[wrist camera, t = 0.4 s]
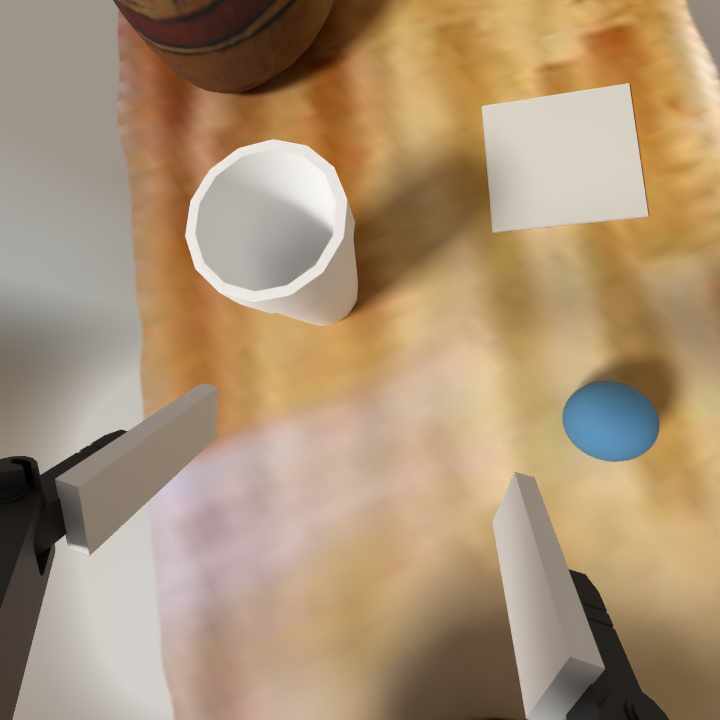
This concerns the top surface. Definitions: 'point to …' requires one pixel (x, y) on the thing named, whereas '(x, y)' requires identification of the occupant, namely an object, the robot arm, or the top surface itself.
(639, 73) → the top surface
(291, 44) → the ceramic pitcher
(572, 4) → the top surface
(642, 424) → the ball
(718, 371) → the top surface
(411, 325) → the top surface
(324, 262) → the foam cup
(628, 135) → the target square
